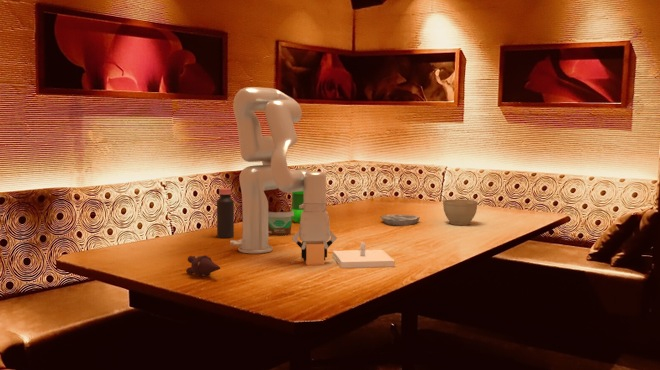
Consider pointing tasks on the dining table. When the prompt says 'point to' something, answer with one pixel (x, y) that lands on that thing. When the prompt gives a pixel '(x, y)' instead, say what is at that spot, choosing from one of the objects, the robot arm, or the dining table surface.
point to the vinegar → (225, 214)
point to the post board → (363, 258)
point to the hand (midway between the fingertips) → (314, 259)
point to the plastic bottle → (297, 204)
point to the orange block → (314, 253)
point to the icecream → (201, 266)
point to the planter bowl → (460, 211)
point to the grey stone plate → (400, 219)
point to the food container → (280, 223)
